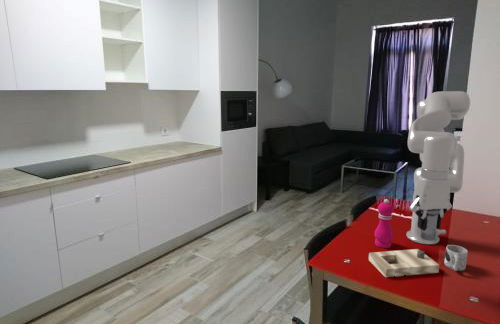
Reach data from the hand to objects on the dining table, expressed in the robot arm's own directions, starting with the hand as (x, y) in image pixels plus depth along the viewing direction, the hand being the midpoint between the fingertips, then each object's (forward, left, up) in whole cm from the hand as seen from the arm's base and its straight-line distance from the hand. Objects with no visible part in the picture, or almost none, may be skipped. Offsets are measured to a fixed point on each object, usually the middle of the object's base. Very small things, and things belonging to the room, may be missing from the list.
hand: (428, 227), depth 106 cm
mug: (-17, -6, -19) cm, 26 cm away
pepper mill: (-1, -27, -19) cm, 33 cm away
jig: (+1, -10, -19) cm, 21 cm away
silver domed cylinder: (0, 0, -3) cm, 3 cm away
